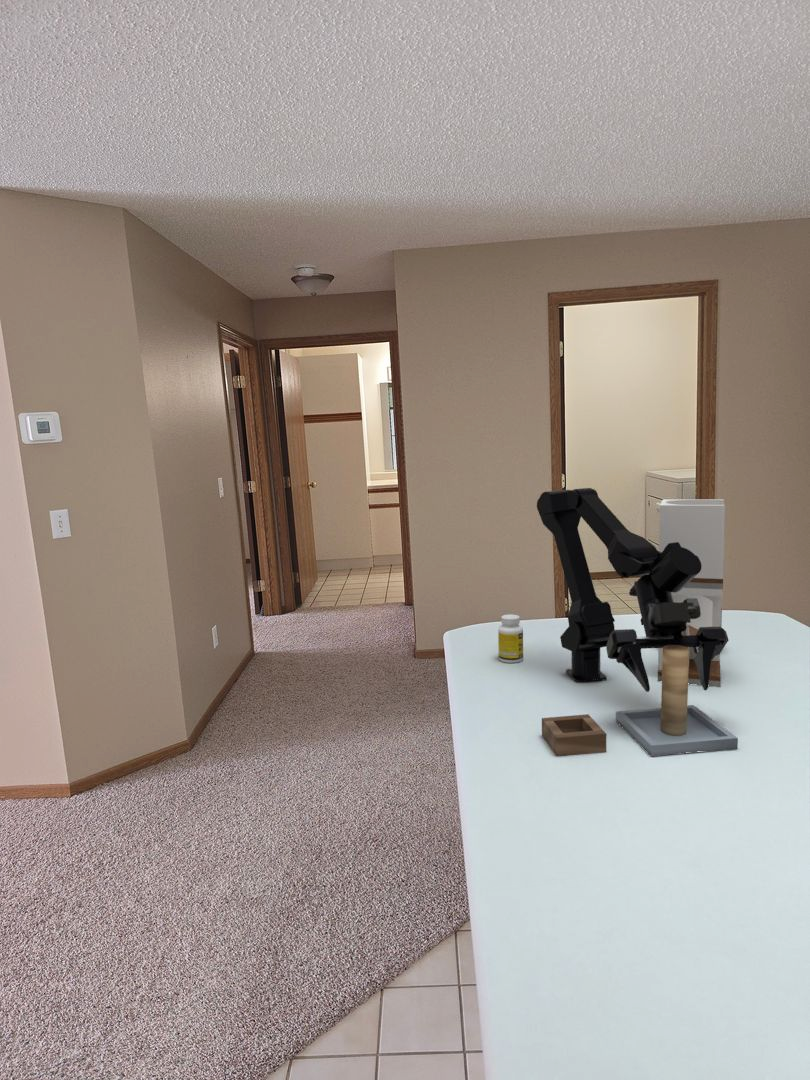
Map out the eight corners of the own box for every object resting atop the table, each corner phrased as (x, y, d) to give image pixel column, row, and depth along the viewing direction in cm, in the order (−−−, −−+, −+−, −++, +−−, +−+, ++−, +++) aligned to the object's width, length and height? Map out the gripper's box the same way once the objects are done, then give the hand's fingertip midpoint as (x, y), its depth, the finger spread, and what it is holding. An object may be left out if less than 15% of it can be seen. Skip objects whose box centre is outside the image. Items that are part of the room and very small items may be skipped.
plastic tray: (615, 721, 127) (615, 711, 127) (693, 714, 128) (693, 705, 128) (651, 756, 113) (651, 745, 113) (737, 748, 114) (737, 738, 114)
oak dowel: (656, 726, 122) (658, 645, 120) (679, 725, 123) (681, 644, 121) (667, 736, 118) (669, 653, 116) (691, 734, 119) (693, 651, 117)
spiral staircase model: (657, 681, 145) (659, 505, 140) (660, 664, 155) (662, 499, 150) (720, 687, 141) (725, 505, 136) (719, 669, 151) (723, 499, 145)
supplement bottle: (522, 663, 159) (522, 620, 158) (497, 663, 160) (496, 619, 159) (524, 656, 164) (523, 613, 163) (499, 655, 165) (498, 613, 164)
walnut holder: (541, 735, 122) (541, 718, 122) (588, 731, 123) (588, 714, 123) (556, 756, 115) (556, 737, 114) (606, 751, 115) (606, 733, 115)
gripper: (610, 582, 121) (628, 669, 112) (725, 579, 120) (752, 665, 111) (599, 617, 130) (615, 699, 121) (706, 613, 129) (730, 696, 120)
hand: (677, 689), depth 118 cm, fingers open, 9 cm apart
